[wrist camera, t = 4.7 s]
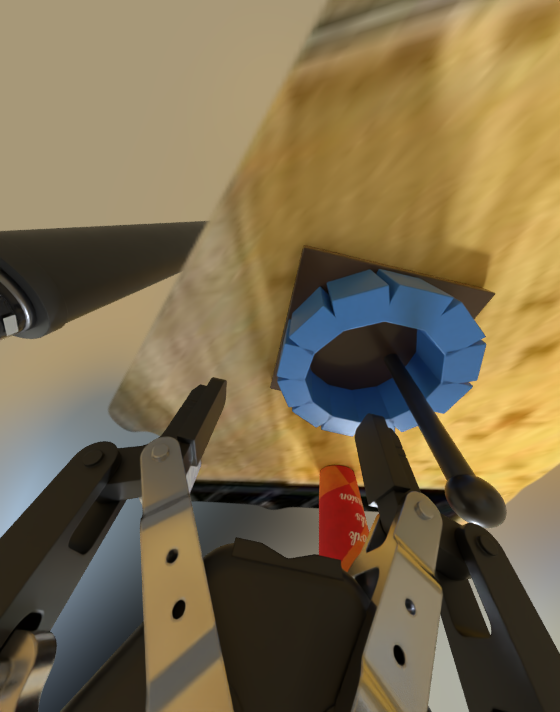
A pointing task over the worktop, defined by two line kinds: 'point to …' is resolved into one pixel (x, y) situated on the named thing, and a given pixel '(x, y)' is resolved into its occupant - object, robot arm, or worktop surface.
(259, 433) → the worktop surface
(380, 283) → the blue notched ring
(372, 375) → the brown peg stand
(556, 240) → the worktop surface
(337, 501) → the paper cup
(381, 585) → the robot arm
